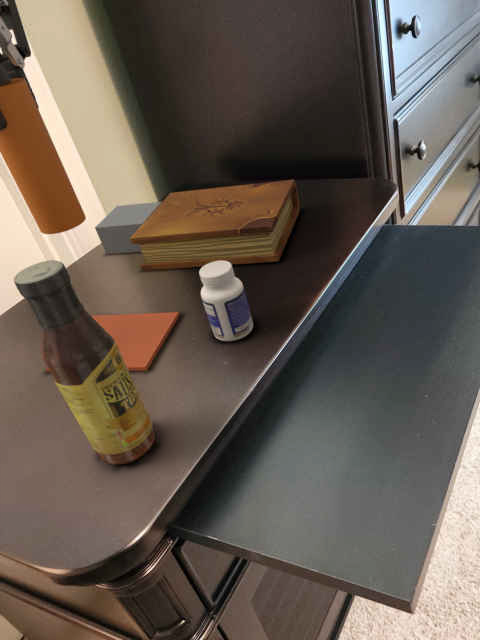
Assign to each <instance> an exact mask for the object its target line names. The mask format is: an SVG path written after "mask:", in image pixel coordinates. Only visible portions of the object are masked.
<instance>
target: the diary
mask: <svg viewBox="0 0 480 640" xmlns="http://www.w3.org/2000/svg"><path fill="white" fill-rule="evenodd" d="M297 187H298V186H297V183H296V180H295V179H287V180H286V179H285V180H278V181H268V182H259V183H248V184H240V185H231V186H222V187H221V186H220V187H213V188H211V187H210V188H202V189H194V190H186V191H176V192H175V191H174V192H170V193H169V194H168V195H167V196H166V197H165V198H164V200H162V201H161V202H162V203H161V204H160V205H159V206H158V208H157V209H156V210H155V211H154V212H153V213H152V214H151V215H150V216H149V218H148V219H147V220H146V221H145V222H144V223H143V224H142V225H141V227H140V228H139V229H138V230H137V231H136V232H135V233H134V234H133V235H132V237H131V238H130V240H131V243H132V244H137V243H138V244H139V247H140V249H141V252H140V253H141V254H142V257H143V259H144V261H143V262H142V263H141V264H140V267H141V270H142V271H143V272H144V271H158V270H171V269H173V270H174V269H187V268H202V267H203V266H205V265H206V264H208V263H211V262H214V261H228V262H230V263H231V265H245V264H258V263H273V262H280V259H281V257H282V255H283V251H284V249H285V247H286V245H287V242H288V240H289V237H290V235H291V233H292V230H293V228H294V225H295V223H296V221H297V219H298V217H299V214H300V210H301V209H300V199H299V194H298V188H297Z"/></svg>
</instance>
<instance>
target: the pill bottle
mask: <svg viewBox="0 0 480 640" xmlns="http://www.w3.org/2000/svg"><path fill="white" fill-rule="evenodd" d="M198 274H199V278H200V281H201V283H202V285H203V286H202V287H201V289H200V297H201V301H202V304H203V307H204V310H205V313H206V316H207V319H208V322H209V325H210V328H211V331H212V333H213V336H214V337H215V338H216V339H217V340H219V341H222V342H234V341H235V342H236V341H239V340H241V339H243V338H245V337H247V336H248V335H249V334H250V333H251V332H252V330H253V328H254V321H253V317H252V314H251V313H252V312H251V310H250V305H249V302H248V298H247V295H246V291H245V288H244V284H243V282H242V281H241V280H240V279H239V278H238V277H236V275H235V271H234V268H233V264H231V263H230V262H228V261H214V262H211V263H208V264H206V265H205V266H202V267H200V269H199V271H198Z"/></svg>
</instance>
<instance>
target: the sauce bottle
mask: <svg viewBox="0 0 480 640" xmlns="http://www.w3.org/2000/svg"><path fill="white" fill-rule="evenodd" d="M71 281H72V280H71V275H70V273H69V271H68V269H67V266H65V264H64V262H62V261H59V260H56V259H50V260H44V261H41V262H37V263H35V264H32V265H30V266H28V267H25V268H23V269H22V270H20V271H19V272H17V273H16V275H15V276H14V277H13V283H14V285H15V287H16V289H17V291H18V292H19V294H20V295H21V296H22V298H24V299H25V300H26V301H27V303H28V305H29V307H30V308H31V310H32V313H33V315H34V316H35V318H36V321H37V323H38V325H39V326H40V328H41V334H40V346H39V347H40V354H41V357H42V359H43V362H44V363H45V365H46V368H47V367H48V368H49V370H50V372H49V373H51V375H52V380H53V381H54V383H55V385H56V386H57V388H58V390H59V392H60V394H61V395H62V397H63V399H64V400H65V402H66V403H67V405H68V407H69V409H70V410H71V412H72V414H73V415H74V417H75V419H76V421H77V423H78V425H79V426H80V428H81V430H82V432H83V433H84V435H85V436H86V438H87V440H88V441H89V443H90V445H91V447H92V449H93V450H94V451H95V452H97V453H98V455H99V457H100V459H101V460H102V461H103V462H105V463H107V464H110V465H115V466H118V465H124V464H125V465H126V464H129V463H133V462H134V461H136V460H138V459H139V458H141V457H142V456H144V455H145V454H146V453H147V452H149V450H150V449H151V448H152V446H153V445H154V442H155V440H156V438H155V437H156V435H155V429H154V426H153V420H152V418H151V415H150V413H149V412H148V409H147V407H146V405H145V403H144V400H143V399H142V396H141V394H140V392H139V390H138V388H137V385H136V383H135V381H134V379H133V377H132V375H131V373H130V372H131V371H129V370H128V368H127V366H126V364H125V362H124V360H123V357H122V355H121V353H120V351H119V348H118V346H117V344H116V342H115V340H114V338H112V337H111V336H110V335H109V334H108V333H107V332H106V331H105V330H104V329H103V328H102V327H101V326H100V325H99V324H98V323H97V322H96V321H95V320H94V319H93V318H92V317H91V316H92V315H91V314H90V313H89V312H88V311H86V309H85V307H84V305H83V303H82V302H81V301H80V299H79V296H78V294H77V293H76V291H75V289H74V287H73V285H72V282H71Z"/></svg>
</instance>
